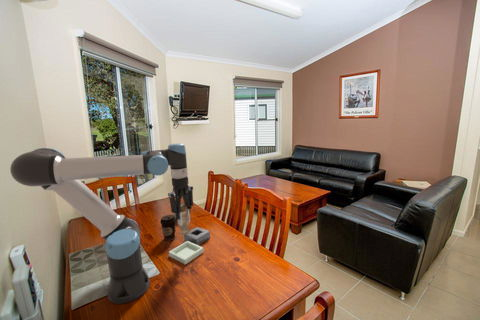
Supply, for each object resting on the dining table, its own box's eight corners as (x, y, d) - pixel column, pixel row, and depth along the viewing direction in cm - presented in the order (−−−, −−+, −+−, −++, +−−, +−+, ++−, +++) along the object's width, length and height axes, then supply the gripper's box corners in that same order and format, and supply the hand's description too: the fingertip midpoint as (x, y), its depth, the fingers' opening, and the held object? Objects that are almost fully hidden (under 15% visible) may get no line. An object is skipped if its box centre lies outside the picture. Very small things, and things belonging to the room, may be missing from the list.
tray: (185, 264, 106) (184, 260, 106) (169, 256, 113) (168, 251, 113) (203, 252, 116) (203, 247, 116) (187, 244, 123) (187, 240, 123)
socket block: (196, 245, 122) (196, 239, 121) (184, 240, 127) (183, 233, 127) (209, 237, 130) (209, 231, 129) (197, 232, 135) (197, 226, 135)
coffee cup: (172, 243, 125) (170, 221, 123) (159, 242, 127) (156, 220, 125) (180, 235, 134) (178, 214, 131) (167, 234, 135) (164, 213, 133)
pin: (184, 235, 110) (182, 208, 107) (179, 233, 112) (176, 206, 110) (191, 232, 113) (188, 205, 110) (185, 230, 115) (183, 204, 113)
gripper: (169, 182, 98) (174, 232, 103) (198, 173, 112) (202, 218, 116) (159, 180, 103) (164, 228, 107) (188, 171, 116) (192, 214, 121)
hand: (184, 222), depth 112 cm, fingers closed on pin, 4 cm apart
